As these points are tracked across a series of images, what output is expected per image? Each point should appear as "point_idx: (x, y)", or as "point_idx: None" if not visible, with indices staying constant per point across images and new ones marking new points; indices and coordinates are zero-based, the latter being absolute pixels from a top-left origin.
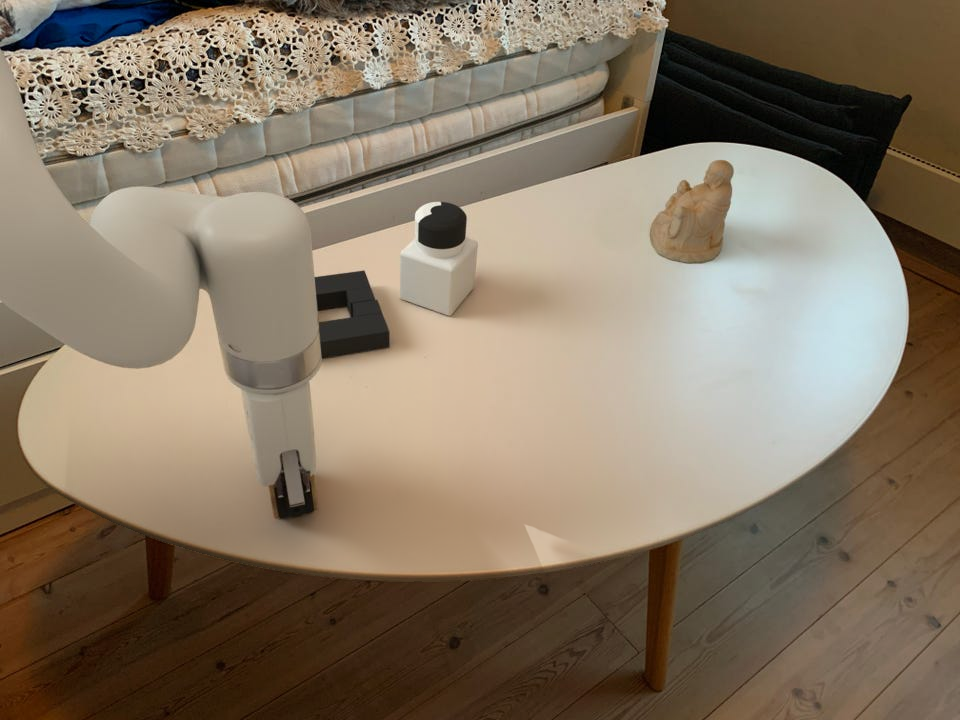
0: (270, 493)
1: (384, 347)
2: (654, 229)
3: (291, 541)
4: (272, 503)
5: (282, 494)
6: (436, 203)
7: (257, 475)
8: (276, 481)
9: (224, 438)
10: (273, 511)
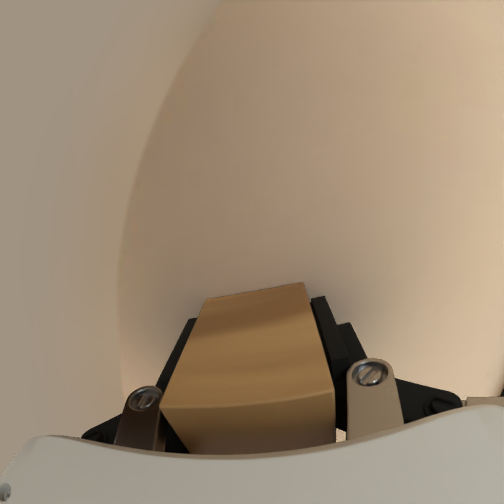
0: (182, 352)
1: (500, 396)
2: None
3: (154, 328)
4: (193, 327)
5: (83, 436)
6: None
7: (18, 460)
8: (116, 440)
9: (445, 170)
10: (201, 310)
